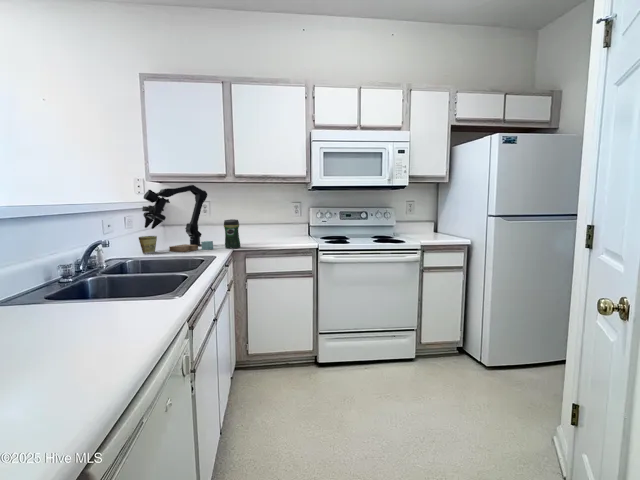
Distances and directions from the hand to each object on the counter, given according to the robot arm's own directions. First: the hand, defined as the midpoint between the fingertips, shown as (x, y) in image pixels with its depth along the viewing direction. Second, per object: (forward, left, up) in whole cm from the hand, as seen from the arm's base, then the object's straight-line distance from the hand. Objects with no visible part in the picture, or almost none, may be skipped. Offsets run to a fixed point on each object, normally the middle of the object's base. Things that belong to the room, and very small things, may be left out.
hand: (148, 228), depth 223 cm
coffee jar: (-26, +45, -15) cm, 54 cm away
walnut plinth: (-7, +22, -14) cm, 27 cm away
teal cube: (-17, +32, -15) cm, 39 cm away
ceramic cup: (+6, +7, -15) cm, 17 cm away
